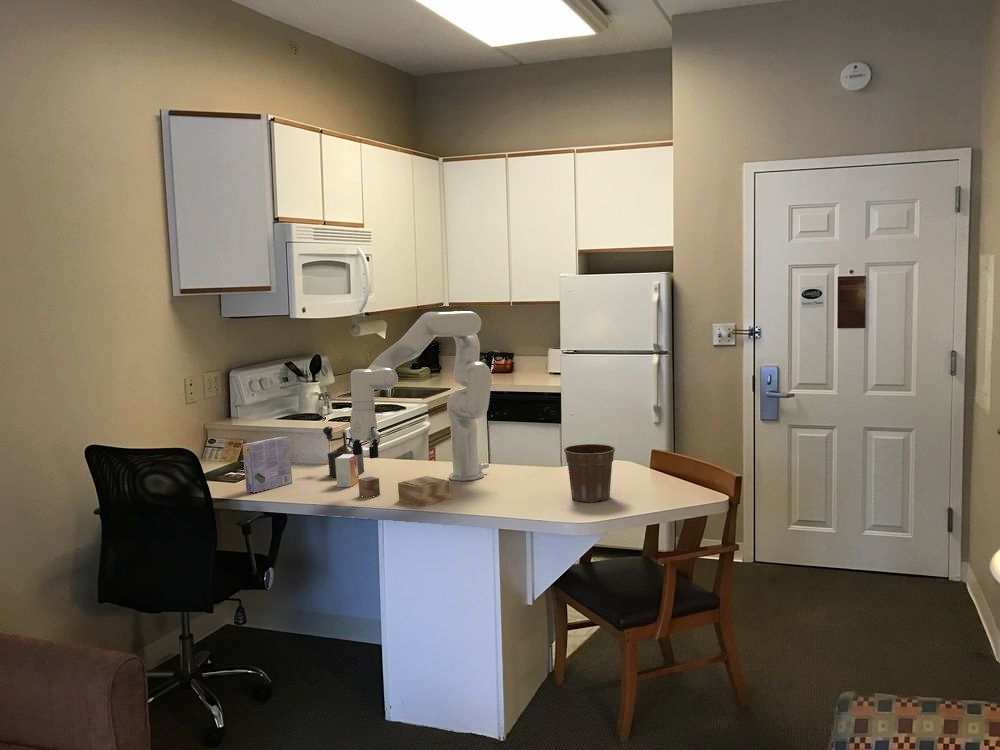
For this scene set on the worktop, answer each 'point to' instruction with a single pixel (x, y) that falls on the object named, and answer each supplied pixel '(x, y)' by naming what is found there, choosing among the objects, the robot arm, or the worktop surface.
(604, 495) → the plant pot
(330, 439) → the manual coffee grinder
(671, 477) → the worktop surface
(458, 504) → the worktop surface
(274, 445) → the cake pan box
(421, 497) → the oak base
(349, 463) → the small box
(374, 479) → the walnut block
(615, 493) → the worktop surface
